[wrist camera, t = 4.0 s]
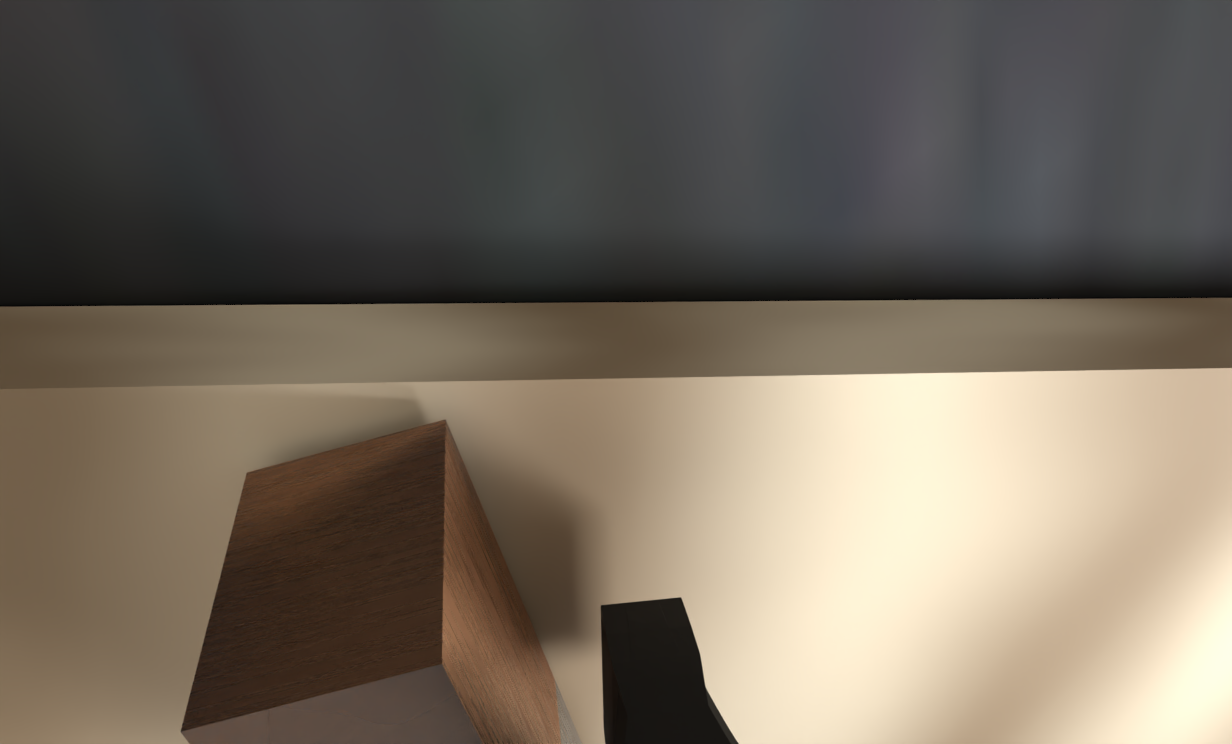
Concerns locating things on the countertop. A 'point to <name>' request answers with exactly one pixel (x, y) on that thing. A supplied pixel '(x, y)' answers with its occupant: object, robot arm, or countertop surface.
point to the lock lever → (370, 610)
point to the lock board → (668, 499)
